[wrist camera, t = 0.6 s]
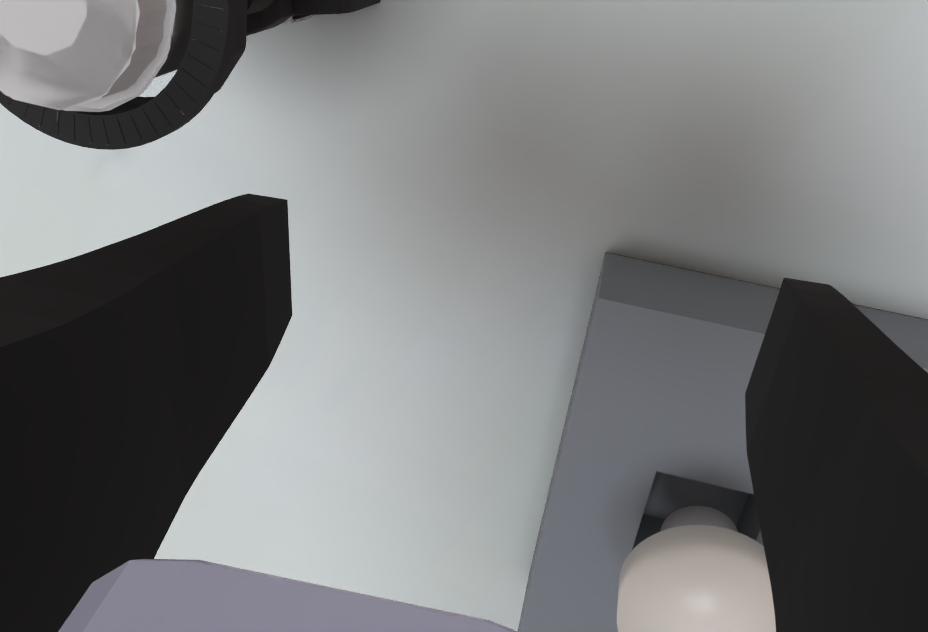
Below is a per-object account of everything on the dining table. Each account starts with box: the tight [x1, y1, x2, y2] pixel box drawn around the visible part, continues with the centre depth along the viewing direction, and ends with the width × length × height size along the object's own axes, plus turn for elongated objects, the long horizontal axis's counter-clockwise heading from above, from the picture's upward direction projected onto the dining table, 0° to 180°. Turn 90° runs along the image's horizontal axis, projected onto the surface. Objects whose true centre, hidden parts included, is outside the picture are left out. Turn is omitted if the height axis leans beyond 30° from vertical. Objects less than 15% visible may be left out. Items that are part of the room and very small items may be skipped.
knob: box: [617, 506, 776, 632], centre depth 21 cm, size 4×4×3 cm
